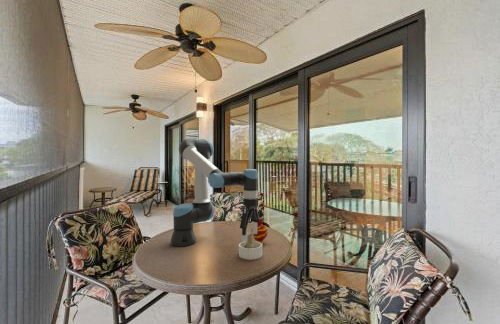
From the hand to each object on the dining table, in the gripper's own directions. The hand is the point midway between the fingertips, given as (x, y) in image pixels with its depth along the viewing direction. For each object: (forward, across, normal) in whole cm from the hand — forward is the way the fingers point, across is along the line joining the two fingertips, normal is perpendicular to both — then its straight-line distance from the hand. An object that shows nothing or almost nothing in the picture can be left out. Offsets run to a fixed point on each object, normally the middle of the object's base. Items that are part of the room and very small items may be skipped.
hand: (249, 237), depth 137 cm
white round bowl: (+10, 0, -1) cm, 10 cm away
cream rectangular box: (+9, 0, 0) cm, 9 cm away
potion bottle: (+10, +21, +2) cm, 23 cm away
